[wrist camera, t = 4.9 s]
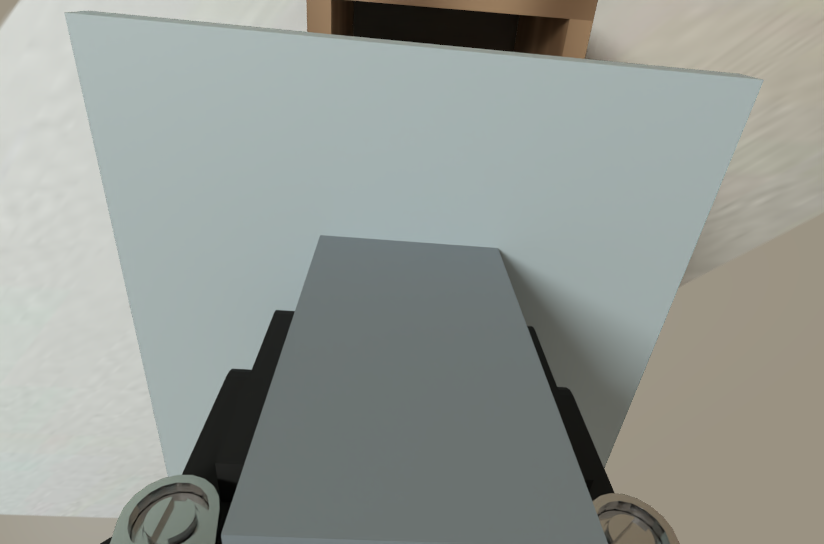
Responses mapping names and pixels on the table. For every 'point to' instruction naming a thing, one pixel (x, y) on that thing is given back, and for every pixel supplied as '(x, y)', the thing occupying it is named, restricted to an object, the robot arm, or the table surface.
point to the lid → (399, 261)
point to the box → (534, 3)
